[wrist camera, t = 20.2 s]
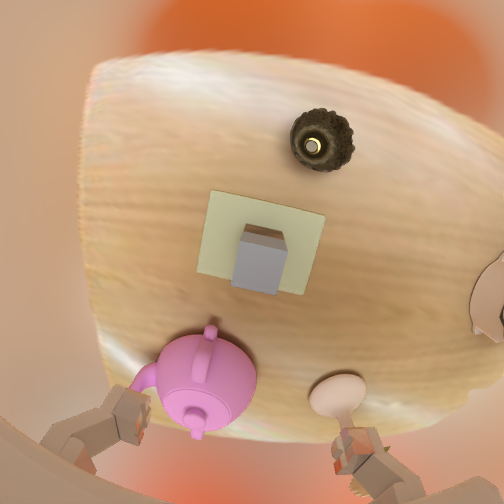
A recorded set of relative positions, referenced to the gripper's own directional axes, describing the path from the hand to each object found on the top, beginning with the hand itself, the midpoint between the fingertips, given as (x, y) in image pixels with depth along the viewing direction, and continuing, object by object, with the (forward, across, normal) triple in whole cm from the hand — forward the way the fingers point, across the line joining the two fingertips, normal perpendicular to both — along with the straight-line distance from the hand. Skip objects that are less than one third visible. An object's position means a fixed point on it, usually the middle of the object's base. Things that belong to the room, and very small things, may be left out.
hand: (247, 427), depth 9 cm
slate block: (+25, 0, 0) cm, 25 cm away
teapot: (+31, +6, +24) cm, 40 cm away
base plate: (+31, 0, 0) cm, 31 cm away
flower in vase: (+31, -22, +25) cm, 46 cm away
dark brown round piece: (+31, -4, -15) cm, 35 cm away
